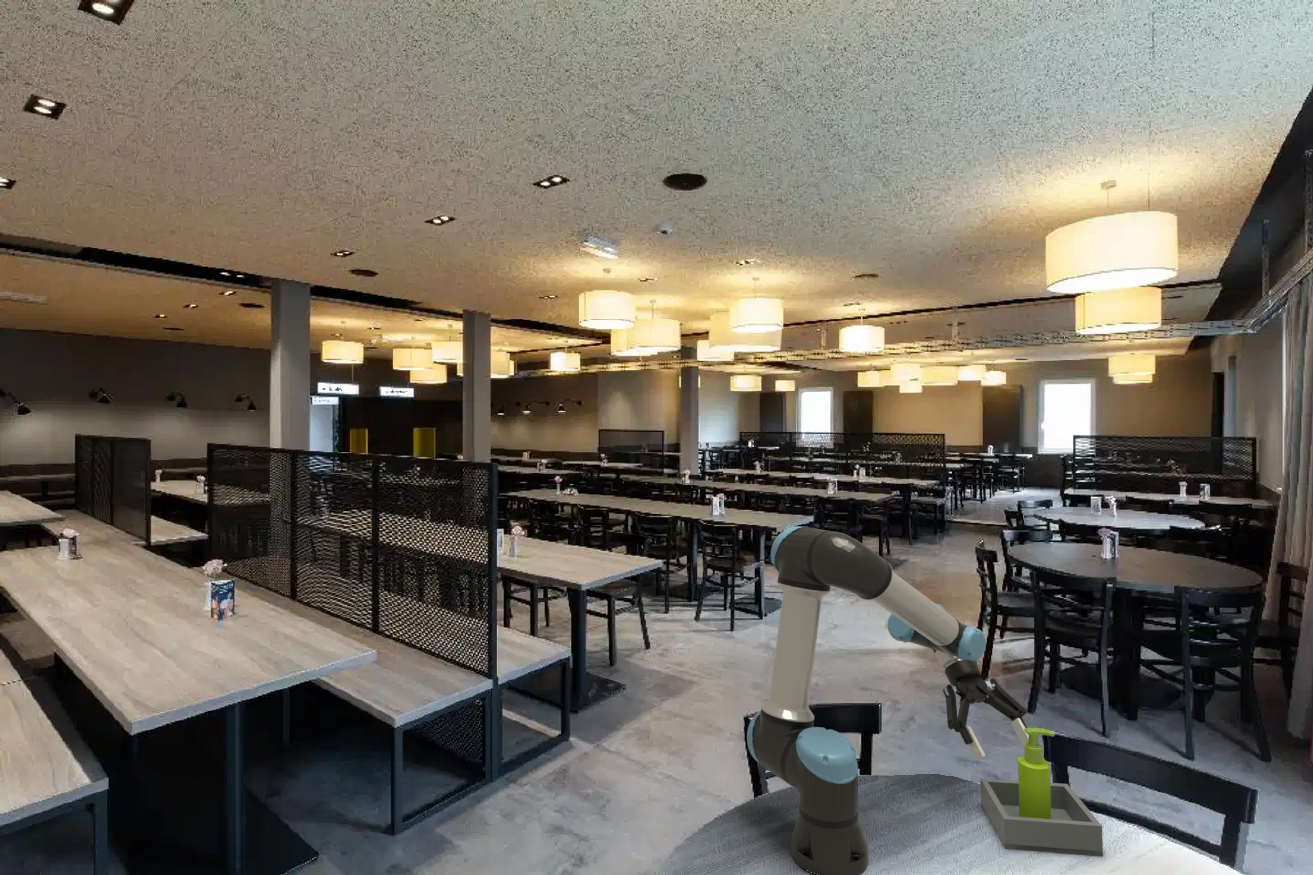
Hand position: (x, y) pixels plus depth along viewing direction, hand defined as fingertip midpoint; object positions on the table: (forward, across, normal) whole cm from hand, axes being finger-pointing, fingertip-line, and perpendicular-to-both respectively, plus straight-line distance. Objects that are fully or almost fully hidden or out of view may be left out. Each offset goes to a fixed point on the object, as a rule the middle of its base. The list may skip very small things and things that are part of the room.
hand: (1006, 753), depth 148 cm
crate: (+14, 0, -3) cm, 15 cm away
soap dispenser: (+14, 0, -2) cm, 14 cm away
